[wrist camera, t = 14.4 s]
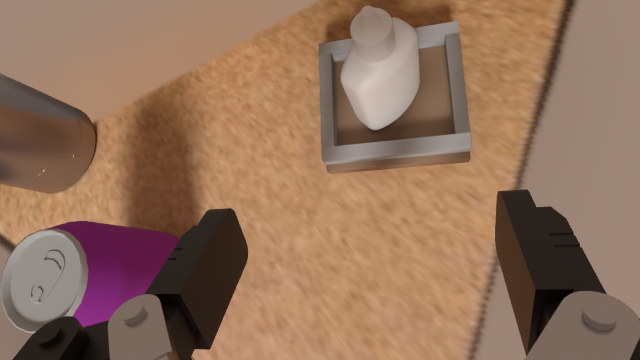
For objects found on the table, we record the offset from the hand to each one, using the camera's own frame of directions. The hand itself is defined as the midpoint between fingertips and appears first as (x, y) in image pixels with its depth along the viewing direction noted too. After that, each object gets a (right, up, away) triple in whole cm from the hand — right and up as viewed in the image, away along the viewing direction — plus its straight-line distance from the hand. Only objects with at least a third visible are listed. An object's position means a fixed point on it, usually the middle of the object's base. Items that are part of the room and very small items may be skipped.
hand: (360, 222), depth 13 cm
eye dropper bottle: (+4, +8, +20) cm, 22 cm away
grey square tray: (+5, +8, +21) cm, 23 cm away
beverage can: (-15, -7, +24) cm, 29 cm away
